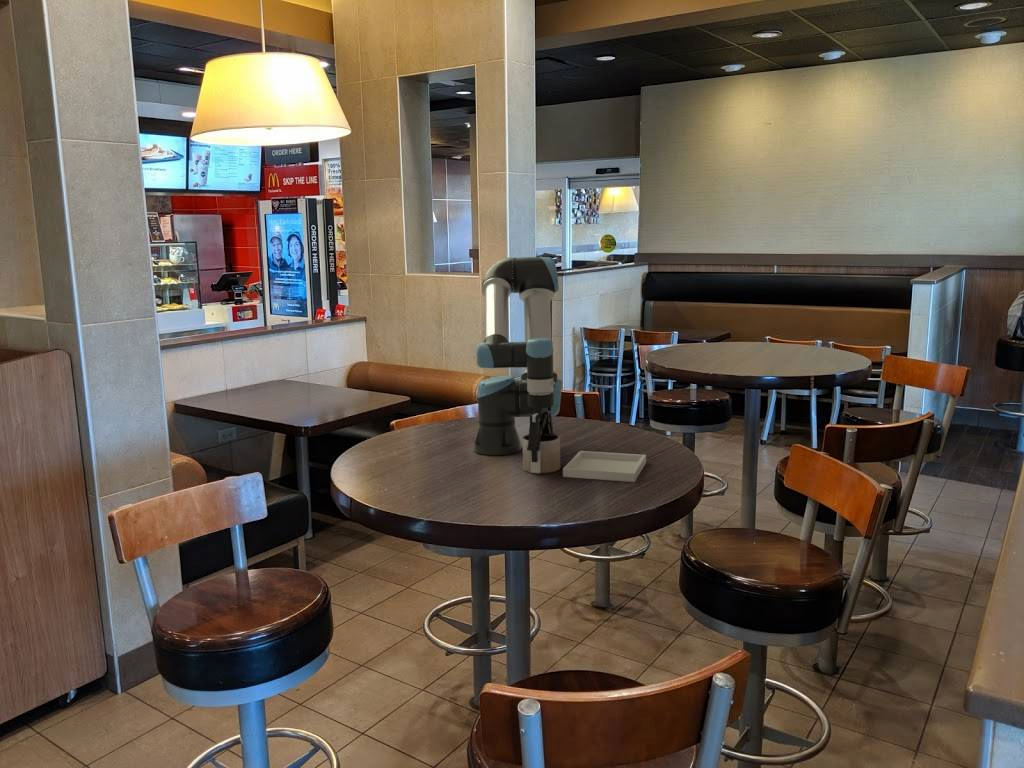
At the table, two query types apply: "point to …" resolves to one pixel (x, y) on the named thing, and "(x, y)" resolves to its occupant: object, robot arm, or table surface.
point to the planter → (544, 453)
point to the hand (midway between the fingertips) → (541, 467)
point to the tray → (605, 466)
